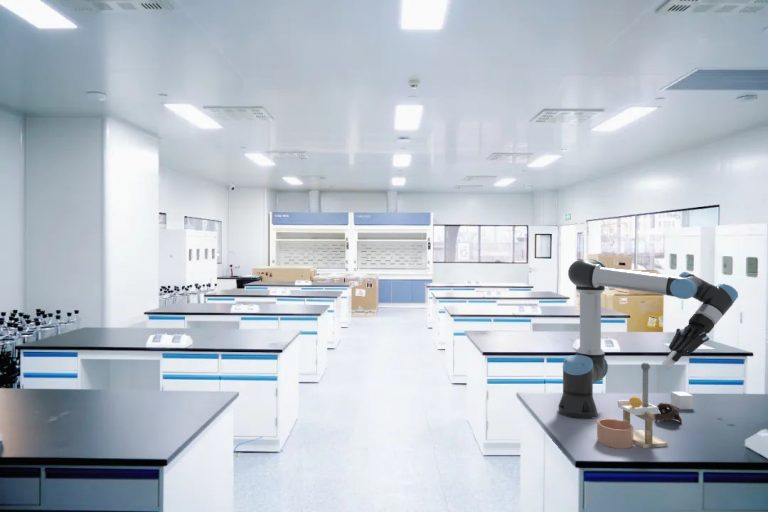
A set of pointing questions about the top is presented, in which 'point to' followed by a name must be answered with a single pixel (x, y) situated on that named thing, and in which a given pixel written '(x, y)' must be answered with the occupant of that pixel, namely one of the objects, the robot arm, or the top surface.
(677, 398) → the white cube
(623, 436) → the terracotta round bowl
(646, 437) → the lever stand
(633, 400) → the ball
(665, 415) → the dark brown skull
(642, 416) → the lever
